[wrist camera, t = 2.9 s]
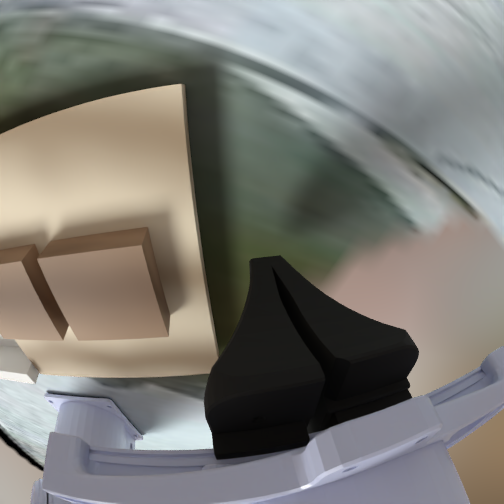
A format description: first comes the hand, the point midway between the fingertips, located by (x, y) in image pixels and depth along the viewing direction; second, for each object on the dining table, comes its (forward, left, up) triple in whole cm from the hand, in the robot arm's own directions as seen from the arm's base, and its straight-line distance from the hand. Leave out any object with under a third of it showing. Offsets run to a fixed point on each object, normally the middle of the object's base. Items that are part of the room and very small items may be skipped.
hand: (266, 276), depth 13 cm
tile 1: (0, +7, -1) cm, 7 cm away
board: (0, +10, -3) cm, 10 cm away
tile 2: (0, +13, -1) cm, 13 cm away
